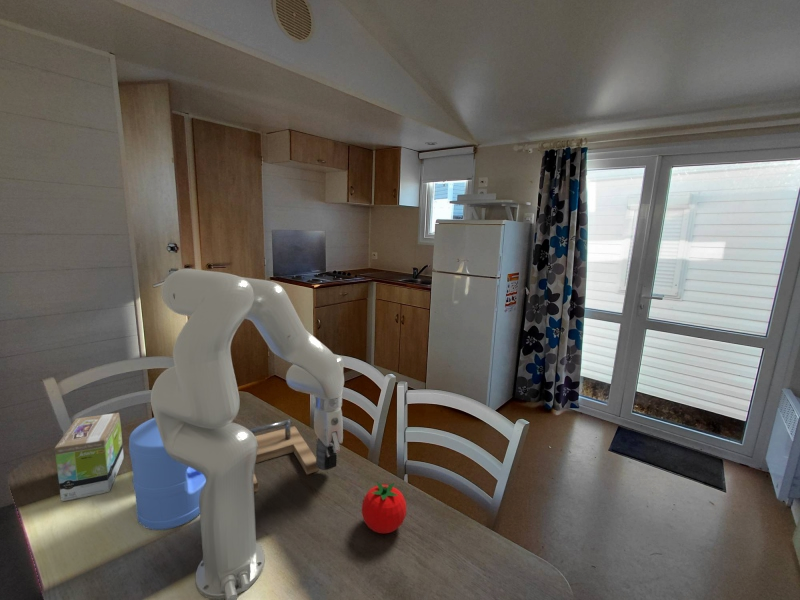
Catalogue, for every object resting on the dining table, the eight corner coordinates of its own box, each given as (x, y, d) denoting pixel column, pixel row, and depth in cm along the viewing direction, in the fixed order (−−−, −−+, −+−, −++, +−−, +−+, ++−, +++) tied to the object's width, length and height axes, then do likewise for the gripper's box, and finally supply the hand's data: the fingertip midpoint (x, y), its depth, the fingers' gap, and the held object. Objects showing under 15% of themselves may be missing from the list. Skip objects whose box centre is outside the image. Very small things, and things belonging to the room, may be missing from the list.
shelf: (318, 470, 105) (318, 462, 104) (243, 496, 94) (243, 487, 93) (294, 432, 123) (294, 425, 122) (229, 450, 112) (229, 443, 111)
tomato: (376, 502, 94) (377, 468, 91) (413, 519, 89) (415, 482, 87) (352, 532, 84) (353, 494, 82) (392, 552, 80) (394, 512, 78)
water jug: (136, 543, 79) (122, 424, 73) (138, 497, 92) (126, 393, 86) (216, 514, 88) (209, 406, 82) (208, 476, 100) (201, 380, 95)
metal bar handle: (293, 441, 114) (293, 423, 112) (245, 455, 106) (244, 435, 105) (290, 436, 116) (290, 418, 115) (242, 449, 109) (242, 430, 107)
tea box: (111, 492, 93) (104, 439, 90) (60, 503, 89) (51, 448, 86) (125, 457, 107) (119, 410, 104) (81, 466, 102) (73, 417, 99)
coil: (338, 466, 102) (339, 443, 101) (320, 472, 99) (321, 448, 98) (331, 456, 106) (332, 434, 105) (313, 462, 103) (313, 438, 102)
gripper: (354, 410, 94) (351, 474, 97) (328, 386, 108) (327, 443, 111) (326, 416, 90) (324, 483, 93) (303, 390, 104) (302, 449, 107)
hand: (326, 460), depth 102 cm, fingers closed on coil, 5 cm apart
